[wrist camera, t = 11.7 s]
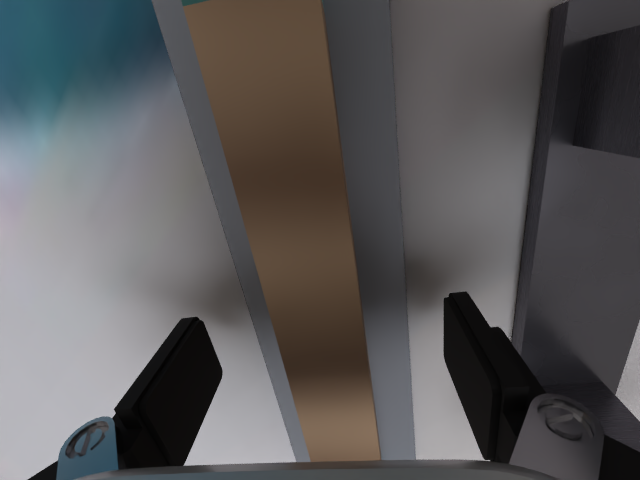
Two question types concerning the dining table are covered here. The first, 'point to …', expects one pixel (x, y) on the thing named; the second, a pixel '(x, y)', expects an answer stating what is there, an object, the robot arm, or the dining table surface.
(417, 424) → the dining table surface
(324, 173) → the rail
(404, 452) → the mat
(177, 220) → the dining table surface
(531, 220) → the bracket
